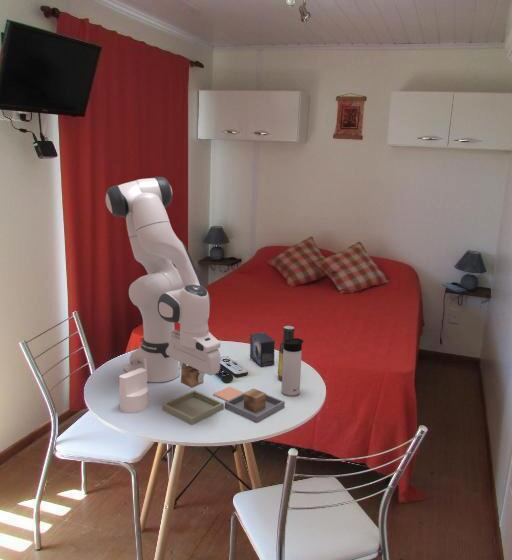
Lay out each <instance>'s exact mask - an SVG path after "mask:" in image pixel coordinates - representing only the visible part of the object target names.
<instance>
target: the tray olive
mask: <svg viewBox="0 0 512 560" xmlns="http://www.w3.org/2000/svg"><path fill="white" fill-rule="evenodd" d="M224 409H225V402H221V401H219V400H217V399H215V398H212V397H211V396H209V395H206V394H204V393H201V392H199V391H197V390H192V391H189V392H187V393H185V394H182V395H180V396H178V397H175V398H174V399H171V400H169V401H166V402H164V403H162V411H164V412H166V413H167V414H169V415H172V416H174V417H175V418H178V419H179V420H181V421H184V422H185V423H187V424H189V425H191V426H193V425H195V424H197V423H199V422H201V421H203V420H205V419H207V418H209V417H212V415H216V414H217V413H219V412H221V411H223V410H224Z"/></svg>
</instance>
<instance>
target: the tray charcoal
mask: <svg viewBox="0 0 512 560" xmlns="http://www.w3.org/2000/svg"><path fill="white" fill-rule="evenodd" d="M253 389H254V388H251V389H249V390H247V391H245V392H244V393H246V392H248V391H251V390H253ZM244 393H243V394H241V395H239V396H237V397H235V398H233V399H231V400H228V401H225V402H224V409H226V410H228V411H230V412H232V413H234V414H237V415H239V416H241V417H243V418H246V419H247V420H250V421H252V422H254V423H256V424H257V423H259V422H262V421H264V420H265V419H267V418H268V417H270V416H271V415H273V414H275V413H277V412H278V411H281V410H283V409H284V408H285V407H286V406H285V403H286V401H285V400H282V399H279V398H277V397H274V396H272V395H269V394H267V393H266V408H264V409H262V410H260V411H258V412H256V413H255V412H252V411H250V410H248V409H245V408H244Z"/></svg>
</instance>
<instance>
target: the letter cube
mask: <svg viewBox="0 0 512 560" xmlns="http://www.w3.org/2000/svg"><path fill="white" fill-rule="evenodd" d="M180 370H181V372H180V384H183V385H185V386H187V387H189V388H191V389H193V388H194V387H197V386H200V385H203V384H204V380H203V381H202V382H200V383H199V382H197V381H196V376H198V375H199V374H200V373H199V370H197V369H195V368H193V367H191V366H189V365H187V366H186V367H183V368H181V367H180ZM204 377H205V375H204V376H203V379H204Z"/></svg>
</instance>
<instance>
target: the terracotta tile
mask: <svg viewBox="0 0 512 560" xmlns="http://www.w3.org/2000/svg"><path fill="white" fill-rule="evenodd" d="M243 393H245V392H244V391H241V390H240V389H237V388H234V387H232V386H227V387H226V388H223V389H221V390H219V391H217V392H214V393H213V395H212V396H214V397H217V398H218V399H220V400H224V401H225V402H226V401H228V400H231V399H233V398H235V397H237V396H239V395H241V394H243Z"/></svg>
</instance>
